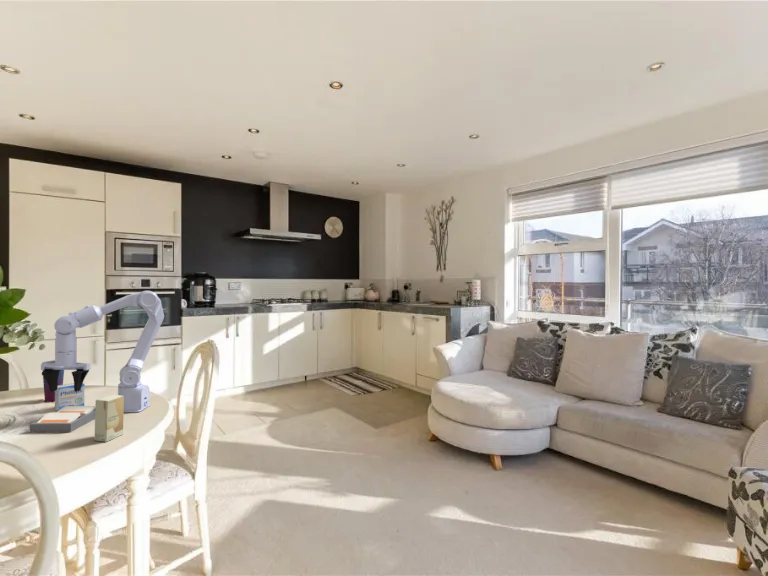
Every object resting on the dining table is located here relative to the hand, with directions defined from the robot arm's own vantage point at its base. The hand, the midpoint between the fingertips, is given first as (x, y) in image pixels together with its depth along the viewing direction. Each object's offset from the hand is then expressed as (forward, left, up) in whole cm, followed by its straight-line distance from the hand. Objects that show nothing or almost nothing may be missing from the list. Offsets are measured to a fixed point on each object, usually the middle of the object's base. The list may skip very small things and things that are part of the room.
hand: (65, 390), depth 133 cm
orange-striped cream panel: (-4, +1, -7) cm, 8 cm away
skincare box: (-24, +17, -10) cm, 31 cm away
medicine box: (+6, -11, -10) cm, 16 cm away
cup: (+18, -20, -10) cm, 29 cm away
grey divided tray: (-4, +5, -9) cm, 11 cm away
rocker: (-4, +9, -7) cm, 12 cm away
